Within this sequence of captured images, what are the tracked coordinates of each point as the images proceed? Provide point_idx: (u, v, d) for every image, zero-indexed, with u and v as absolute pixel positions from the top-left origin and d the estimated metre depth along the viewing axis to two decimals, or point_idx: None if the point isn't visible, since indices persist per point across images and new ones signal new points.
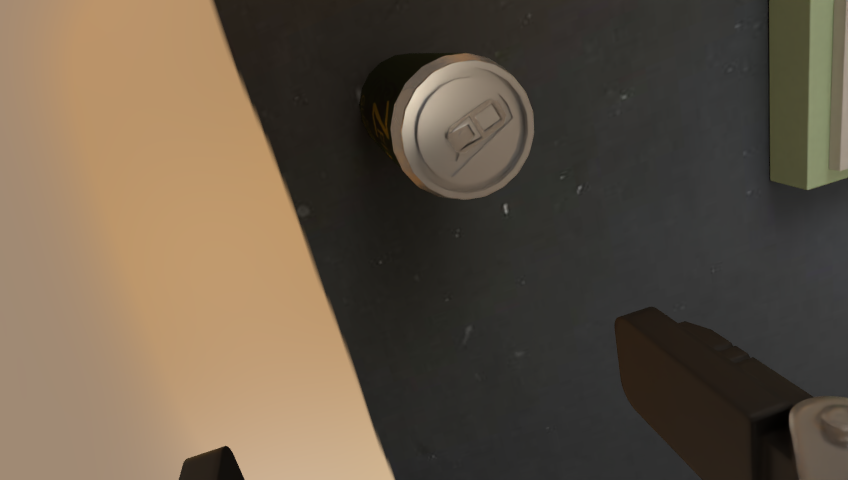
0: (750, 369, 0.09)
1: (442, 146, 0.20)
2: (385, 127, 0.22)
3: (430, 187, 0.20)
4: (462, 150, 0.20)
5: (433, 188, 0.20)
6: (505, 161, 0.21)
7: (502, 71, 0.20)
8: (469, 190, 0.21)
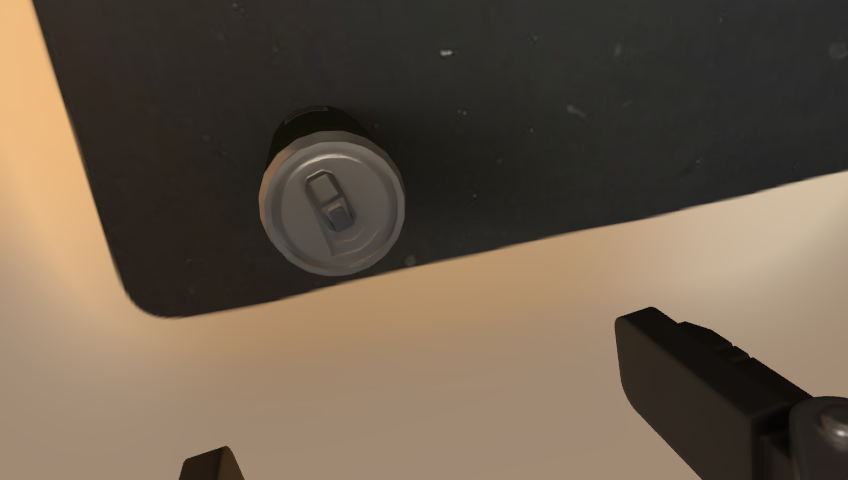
0: (750, 369, 0.09)
1: (348, 233, 0.20)
2: None
3: (386, 252, 0.21)
4: (353, 218, 0.20)
5: (387, 248, 0.21)
6: (371, 173, 0.20)
7: (276, 174, 0.19)
8: (396, 209, 0.21)
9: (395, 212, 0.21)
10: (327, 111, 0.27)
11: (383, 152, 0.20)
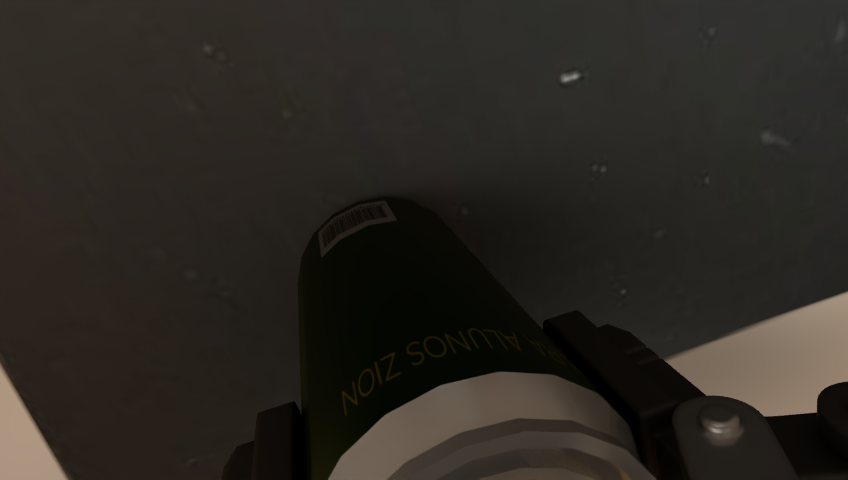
0: (656, 370, 0.10)
1: None
2: None
3: None
4: None
5: None
6: None
7: None
8: None
9: None
10: (397, 225, 0.14)
11: (598, 401, 0.08)
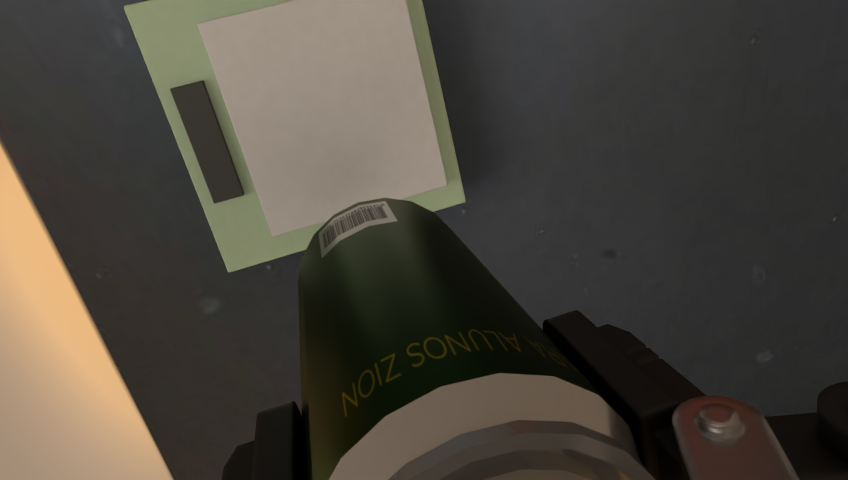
0: (656, 370, 0.10)
1: None
2: None
3: None
4: None
5: None
6: None
7: None
8: None
9: None
10: (397, 226, 0.14)
11: (598, 403, 0.08)
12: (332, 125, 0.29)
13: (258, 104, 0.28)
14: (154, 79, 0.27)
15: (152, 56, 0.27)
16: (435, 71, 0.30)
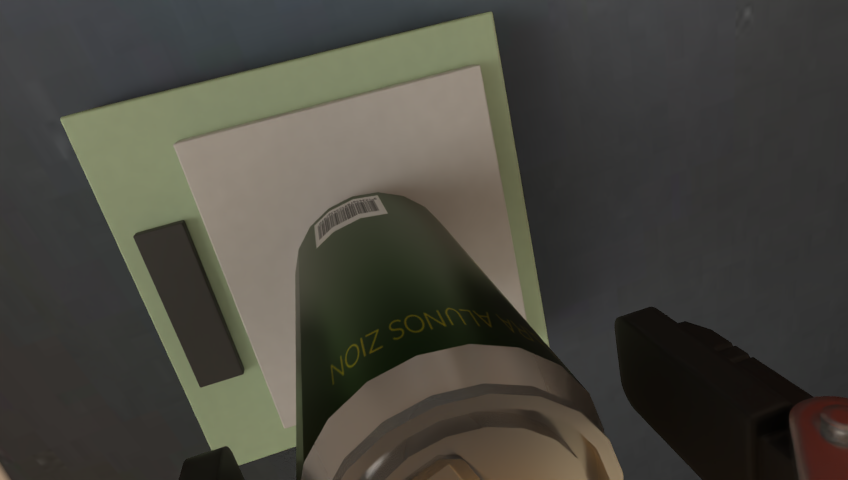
0: (750, 369, 0.09)
1: None
2: None
3: None
4: None
5: None
6: (550, 444, 0.08)
7: None
8: None
9: None
10: (387, 218, 0.15)
11: (560, 372, 0.09)
12: None
13: (265, 254, 0.19)
14: (109, 221, 0.18)
15: (106, 189, 0.18)
16: (521, 193, 0.21)
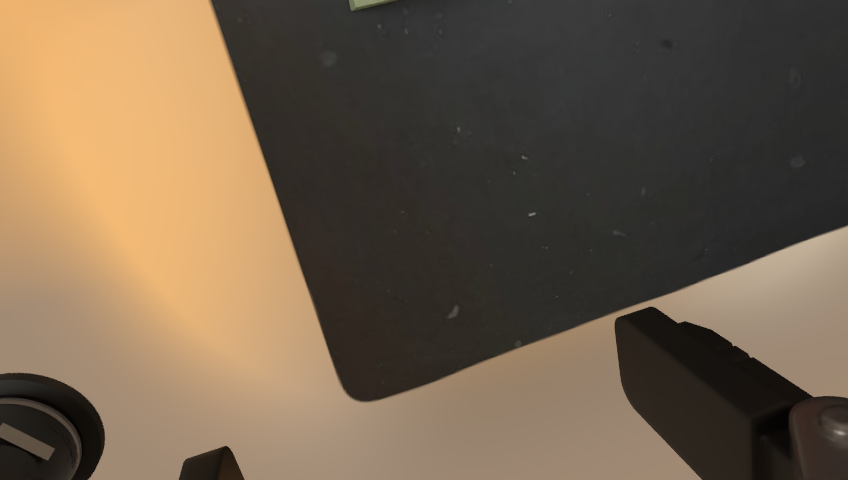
0: (750, 369, 0.09)
1: None
2: None
3: None
4: None
5: None
6: None
7: None
8: None
9: None
10: None
11: None
12: None
13: None
14: None
15: None
16: None
